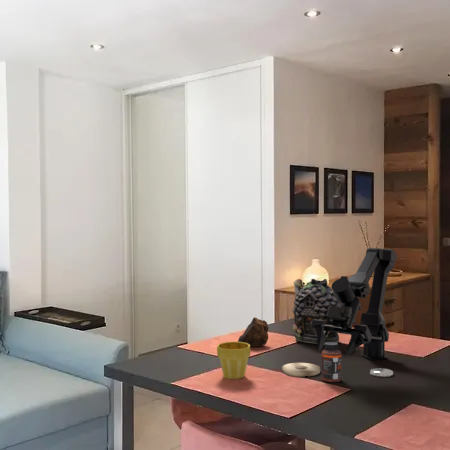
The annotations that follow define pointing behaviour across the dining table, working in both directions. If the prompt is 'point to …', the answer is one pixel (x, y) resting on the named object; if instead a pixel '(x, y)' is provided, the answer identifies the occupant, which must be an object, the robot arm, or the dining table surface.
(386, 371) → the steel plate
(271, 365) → the dining table surface
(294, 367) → the coaster
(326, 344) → the supplement bottle
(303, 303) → the decorative house
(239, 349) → the plant pot
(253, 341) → the decorative rock
